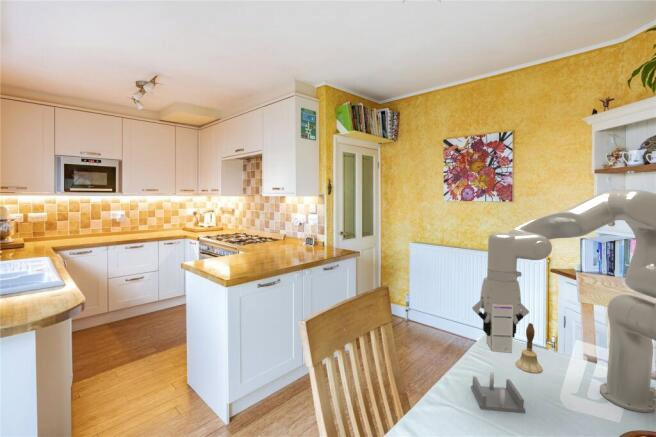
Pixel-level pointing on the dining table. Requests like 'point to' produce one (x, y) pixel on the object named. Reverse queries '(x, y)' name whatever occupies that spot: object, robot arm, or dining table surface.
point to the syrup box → (501, 328)
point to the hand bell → (529, 354)
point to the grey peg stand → (498, 396)
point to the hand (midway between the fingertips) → (499, 334)
